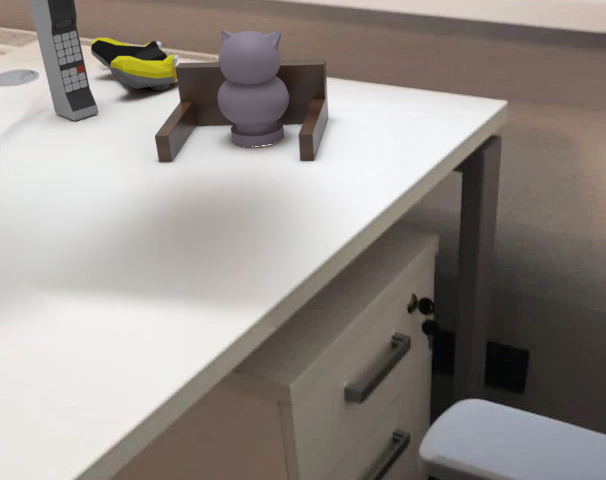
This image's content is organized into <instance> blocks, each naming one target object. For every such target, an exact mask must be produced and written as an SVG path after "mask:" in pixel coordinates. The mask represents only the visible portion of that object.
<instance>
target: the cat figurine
mask: <svg viewBox="0 0 606 480" xmlns="http://www.w3.org/2000/svg"><path fill="white" fill-rule="evenodd" d="M282 32H283V29H281V30H277V31H276V30H275V31H273V32H268V33H262V32H259V31H255V30H242V31H239V32H236V33H233V32H230V31H227V30H224V29H221V28H220V35H221V42H222V43H221V44H222V45H221V47H220V50H219V51H218V62H219V64H220V68H221V71H222V73H223V75H224V76H225V77H226V78H227V80H226V81H225V82H224V83H223V84H222V86H221V87H220V89H219V91H218V105H219V108H220V110H221V112H222V114H223V115H224V116H225V117H226V118H227V119H229V120H230V121H231V122H233V123H235V124H234V125H231V127H230V134H231V143H232V144H234V145H235V146H238V145H239V146H238V147H240V146H243V147H242V148H247V147H252V146H253V147H255V146H262V145H268V144H274V143H276V142H278V143H280V142H282V141H283V140H284V139H285V130H284V124H283V123H282V122H281V121H279V120H278V119H279V118H280V117H281V116H282V115H283V114H284V112H285V111H286V109H287V107H288V104H289V94H288V91H287V88H286V86H285V84H284V83H283V82H282V81H281V79H279V78H278V77H277V76H275V75H276V74H277V72H278V70H279V68H280V60H281V59H282V58H281V53H280V51H279V46H280V41H281V38H282V34H283V33H282ZM282 139H283V140H282ZM281 140H282V141H281ZM279 141H280V142H279ZM276 144H277V143H276ZM274 145H275V144H274ZM244 146H245V147H244Z"/></svg>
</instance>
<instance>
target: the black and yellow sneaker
mask: <svg viewBox="0 0 606 480" xmlns="http://www.w3.org/2000/svg"><path fill="white" fill-rule="evenodd" d="M90 52H91V55H92V56H93V57H95V58H96V60H97V61H99V62H100V63H101V64H102V65H103V66H105V67H106V68H107V69H109V70H110V72H111V74H112V75H113V76H114V77H116V79H118V80H119V81H120V82H121V83H123V84H125V85H126V86H129V87H131V88H133V89H137V90H139V89H145V88H151V89H152V90H154V91H164V90H167V89H169V87H170V84H174V83H176V81H177V75H176V67H177V63H178V59H179V54H168V55H167V54H166V52H164V51H163V50H162V42H161V41H157V40H151V41H150V42H147V43H145V45H144V46H142V45H141V46H140V45H131V44H128V43H124V42H121V41H119V40H115V39H112V38H109V37H96V38H95V39H93V41H91V43H90Z"/></svg>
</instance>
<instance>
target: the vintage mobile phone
mask: <svg viewBox="0 0 606 480" xmlns="http://www.w3.org/2000/svg"><path fill="white" fill-rule="evenodd" d="M28 3H29V8H30V11H31V16H32V19H33V24H34V27H35V32H36V37H37V41H38V45H39V49H40V54H41V58H42V63H43V66H44V70H45V71H44V72H45V75H46V80H47V83H48V87H49V93H50V97H51V101H52V104H53V109H54V112H55V113H56V115H59V116H61V117H64V118H66V119H69V120H71V121H73V122H76V121H80V120H83V119H86V118H90V117H92V116H97V114H98V113H99V109H98V104H97V102H96V100H95V99H96V98H95V97H94V95H93V92H92V91H91V87H90V83H89V77H88V72H87V68H86V63H85V58H84V53H83V49H82V43H81V39H80V34H79V28H78V12H77V7H76V2H75V0H28Z"/></svg>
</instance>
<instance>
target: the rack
mask: <svg viewBox="0 0 606 480" xmlns="http://www.w3.org/2000/svg"><path fill="white" fill-rule="evenodd" d="M176 66H177V67H176V75H177V80H176V81H177V88H178V95H179V103H178V104H177V106H176V107H175V108H174V110H172V112H171V113H170V114H169V116H168V117H167V119H166V120H165V121H164V123H163V124H162V125H161V127H160V128H159V129H158V131H157V132H156V134H155V135H154V140H155V146H156V152H157V157H158V162H161V163H163V162H164V163H165V162H173V161H174V160H175V158H176V156H177V155H178V153H179V152H180V150H181V149H182V148H183V146H184V144H185V143H186V141H187V140H188V139H189V137H190V135H192V132H193V131H194V129H195V128H196V126H233V125H234V124H235V123H233V122H231V121H230V120H229V119H227V118H226V117H225V116H224V115H223V114H222V112H221V110H220V108H219V105H218V91H219V89H220V87H221V86H222V84H223V83H224V82H225V81H226V80H227V78H226V77H225V76H224V75H223V73H222V71H221V68H220V64H219V61H211V62H210V61H208V62H207V61H206V62H179V63H178V64H176ZM275 76H277V77H278V78H279V79H281V81H282V82H283V83H284V84H285V86H286V88H287V91H288V94H289V104H288V107H287V109H286V111H285V112H284V114H283V115H282V116H281V117H280V118H279V119H278V120H279V121H281V122H282V123H283V125H301V127H300V129H299V132H298V146H299V147H298V148H299V161H314V160H315V159H316V156H317V152H318V150H319V146H320V144H321V141H322V137H323V135H324V132H325V129H326V126H327V124H328V120H329V101H328V78H327V59H326V58H325V59H324V58H322V59H293V60H292V59H283V60H280V68H279V70H278V72H277V74H276V75H275Z"/></svg>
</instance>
